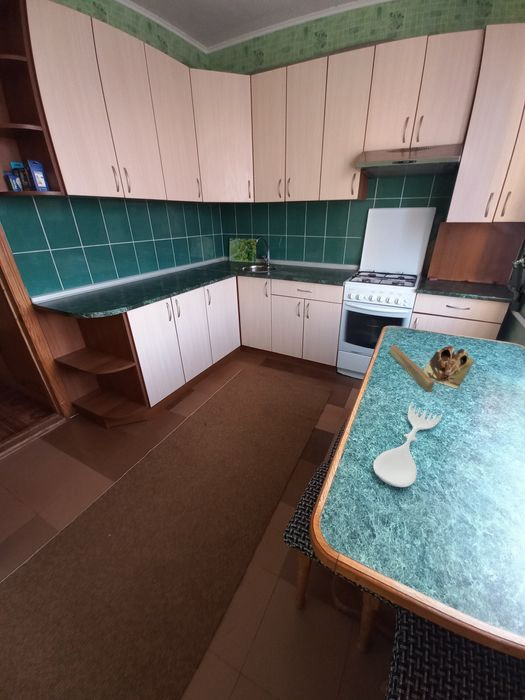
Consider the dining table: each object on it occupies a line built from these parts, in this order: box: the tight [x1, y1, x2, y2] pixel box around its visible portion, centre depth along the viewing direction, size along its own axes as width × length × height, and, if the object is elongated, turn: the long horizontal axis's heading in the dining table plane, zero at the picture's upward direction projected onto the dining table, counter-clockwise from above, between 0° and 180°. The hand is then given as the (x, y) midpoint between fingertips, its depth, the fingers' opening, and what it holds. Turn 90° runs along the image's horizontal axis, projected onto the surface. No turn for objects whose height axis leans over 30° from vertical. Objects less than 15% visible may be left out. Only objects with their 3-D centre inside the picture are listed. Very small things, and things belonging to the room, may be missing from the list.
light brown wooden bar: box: [389, 344, 435, 392], centre depth 108 cm, size 2×28×4 cm, turn 3°
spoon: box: [372, 402, 443, 488], centre depth 74 cm, size 9×32×4 cm, turn 139°
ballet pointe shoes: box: [422, 345, 475, 390], centre depth 109 cm, size 14×7×28 cm
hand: (515, 310), depth 100 cm, fingers closed
